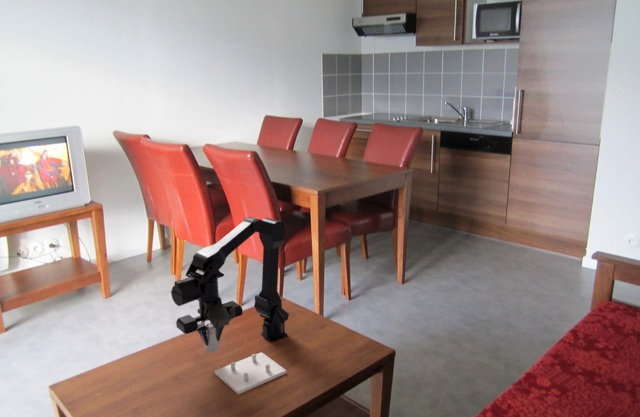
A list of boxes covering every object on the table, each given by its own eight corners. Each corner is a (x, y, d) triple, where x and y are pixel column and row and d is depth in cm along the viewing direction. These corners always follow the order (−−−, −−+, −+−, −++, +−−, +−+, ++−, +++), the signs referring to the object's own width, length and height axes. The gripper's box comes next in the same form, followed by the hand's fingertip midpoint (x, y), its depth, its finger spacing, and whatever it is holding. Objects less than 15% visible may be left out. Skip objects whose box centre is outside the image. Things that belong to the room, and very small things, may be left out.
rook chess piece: (201, 349, 160) (199, 325, 158) (214, 343, 163) (212, 319, 161) (210, 354, 157) (209, 329, 155) (223, 348, 160) (221, 324, 158)
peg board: (261, 355, 167) (261, 346, 166) (286, 373, 157) (285, 364, 156) (215, 373, 157) (214, 364, 156) (238, 394, 147) (237, 384, 146)
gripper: (191, 313, 144) (195, 365, 148) (251, 294, 155) (253, 343, 159) (173, 299, 152) (177, 349, 156) (231, 282, 163) (234, 329, 168)
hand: (212, 342), depth 160 cm, fingers closed on rook chess piece, 3 cm apart
